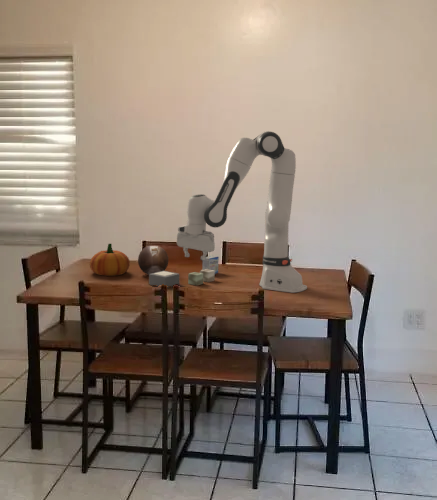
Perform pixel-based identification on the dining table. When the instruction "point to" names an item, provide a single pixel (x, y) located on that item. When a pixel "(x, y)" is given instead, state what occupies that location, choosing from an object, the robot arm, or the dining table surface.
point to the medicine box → (211, 263)
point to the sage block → (195, 278)
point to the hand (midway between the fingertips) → (194, 258)
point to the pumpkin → (109, 262)
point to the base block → (164, 278)
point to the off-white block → (208, 275)
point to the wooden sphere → (153, 259)
